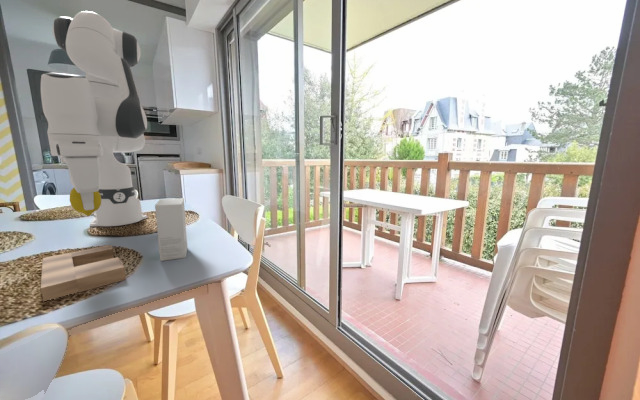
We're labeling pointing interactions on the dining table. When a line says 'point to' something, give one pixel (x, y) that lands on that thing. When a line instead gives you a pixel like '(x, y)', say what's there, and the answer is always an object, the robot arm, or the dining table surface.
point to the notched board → (80, 271)
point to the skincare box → (171, 228)
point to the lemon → (78, 204)
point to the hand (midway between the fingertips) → (87, 207)
